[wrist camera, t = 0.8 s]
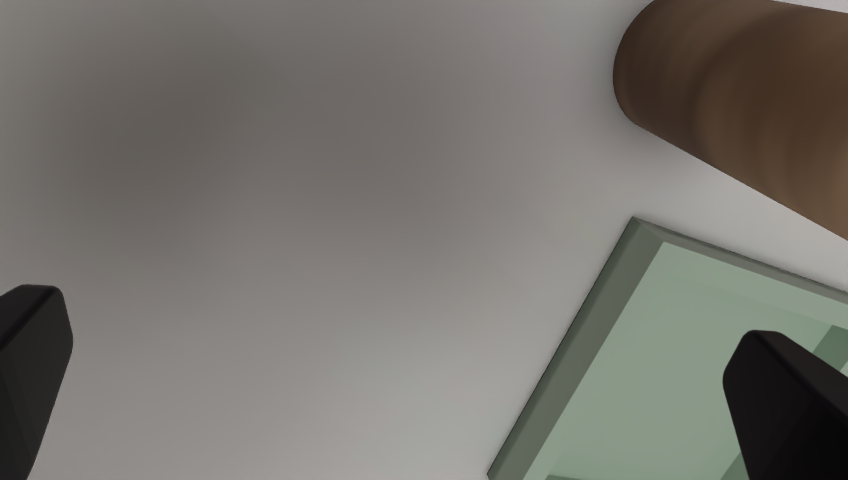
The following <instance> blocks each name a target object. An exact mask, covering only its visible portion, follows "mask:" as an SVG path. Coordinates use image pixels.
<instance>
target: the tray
mask: <svg viewBox="0 0 848 480" xmlns="http://www.w3.org/2000/svg"><path fill="white" fill-rule="evenodd" d="M750 330H767V331H777V332H780V333H782V334H784V335H786V336H787V337H789V338H790V339H792V340H793V341H795V342H796V343H798V344H799V345H801V346H802V347H804V348H805V349H807V350H808V351H810V352H811V353H813V354H814V355H816V356H817V357H819V358H820V359H822V360H823V361H825V362H826V363H828V364H829V365H831V366H832V367H834V368H835V369H837V370H838V371H840V372H841V373H843V374H844V375H846V376H847V377H848V293H847V292H844V291H841V290H838V289H835V288H832V287H830V286H827V285H824V284H821V283H818V282H815V281H813V280H810V279H807V278H804V277H801V276H798V275H796V274H793V273H790V272H787V271H784V270H781V269H779V268H776V267H773V266H770V265H767V264H765V263H762V262H759V261H756V260H753V259H750V258H748V257H745V256H742V255H739V254H736V253H733V252H731V251H728V250H725V249H722V248H719V247H716V246H714V245H711V244H708V243H705V242H702V241H699V240H697V239H694V238H691V237H688V236H685V235H682V234H680V233H677V232H674V231H671V230H668V229H665V228H663V227H660V226H657V225H654V224H651V223H649V222H646V221H643V220H640V219H637V218H634V217H632V219H631V221H630V223H629V224H628V226H627V228H626V230H625V231H624V233H623V235H622V237H621V239H620V240H619V242H618V244H617V246H616V247H615V249H614V251H613V253H612V254H611V256H610V258H609V260H608V262H607V263H606V265H605V267H604V269H603V270H602V272H601V274H600V276H599V277H598V279H597V281H596V283H595V285H594V286H593V288H592V290H591V292H590V293H589V295H588V297H587V299H586V300H585V302H584V304H583V306H582V307H581V309H580V311H579V313H578V315H577V316H576V318H575V320H574V322H573V323H572V325H571V327H570V329H569V330H568V332H567V334H566V336H565V338H564V339H563V341H562V343H561V345H560V346H559V348H558V350H557V352H556V353H555V355H554V357H553V359H552V361H551V362H550V364H549V366H548V368H547V369H546V371H545V373H544V375H543V376H542V378H541V380H540V382H539V384H538V385H537V387H536V389H535V391H534V392H533V394H532V396H531V398H530V399H529V401H528V403H527V405H526V407H525V408H524V410H523V412H522V414H521V415H520V417H519V419H518V421H517V422H516V424H515V426H514V428H513V430H512V431H511V433H510V435H509V437H508V438H507V440H506V442H505V444H504V445H503V447H502V449H501V451H500V453H499V454H498V456H497V458H496V460H495V461H494V463H493V465H492V467H491V468H490V470H489V472H488V474H487V475H488V478H489V480H749V478H748V475H747V471H746V468H745V464H744V461H743V457H742V454H741V450H740V447H739V443H738V440H737V436H736V433H735V429H734V426H733V422H732V418H731V415H730V411H729V408H728V404H727V401H726V397H725V394H724V390H723V384H722V378H723V373H724V370H725V368H726V366H727V364H728V362H729V360H730V358H731V356H732V355H733V353H734V351H735V349H736V347H737V345H738V344H739V342H740V340H741V338H742V336H743V335H744V334H745V333H746V332H748V331H750Z"/></svg>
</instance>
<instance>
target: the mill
mask: <svg viewBox="0 0 848 480" xmlns="http://www.w3.org/2000/svg"><path fill="white" fill-rule="evenodd" d="M613 84H614V90H615V95H616V98H617V101H618V103H619V105H620V107H621V109H622V111H623V112H624V113H625V115H626V116H627V117H628V118H629V119H630V120H631V121H632V122H634V123H635V124H636V125H638V126H640V127H642V128H644V129H645V130H647V131H649V132H651V133H653V134H654V135H656V136H658V137H660V138H662V139H664V140H665V141H667V142H669V143H671V144H673V145H675V146H676V147H678V148H680V149H682V150H684V151H685V152H687V153H689V154H691V155H693V156H695V157H696V158H698V159H700V160H702V161H704V162H705V163H707V164H709V165H711V166H713V167H715V168H716V169H718V170H720V171H722V172H724V173H725V174H727V175H729V176H731V177H733V178H735V179H736V180H738V181H740V182H742V183H744V184H746V185H747V186H749V187H751V188H753V189H755V190H756V191H758V192H760V193H762V194H764V195H766V196H767V197H769V198H771V199H773V200H775V201H776V202H778V203H780V204H782V205H784V206H786V207H787V208H789V209H791V210H793V211H795V212H796V213H798V214H800V215H802V216H804V217H806V218H807V219H809V220H811V221H813V222H815V223H817V224H818V225H820V226H822V227H824V228H826V229H827V230H829V231H831V232H833V233H835V234H837V235H838V236H840V237H842V238H844V239H846V240H847V241H848V13H843V12H837V11H831V10H825V9H819V8H813V7H808V6H802V5H796V4H790V3H784V2H778V1H773V0H655V1H653V2H652V3H650V4H649V5H648V6H647V7H646V8H645V9H643V10H642V11H641V12H640V13H639V15H638V16H637V17H636V18H635V19H634V20H633V22H632V23H631V25H630V26H629V27H628V29H627V31H626V33H625V34H624V36H623V38H622V40H621V43H620V45H619V48H618V51H617V54H616V58H615V63H614V71H613Z"/></svg>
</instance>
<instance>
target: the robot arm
mask: <svg viewBox="0 0 848 480" xmlns="http://www.w3.org/2000/svg"><path fill="white" fill-rule="evenodd" d="M72 348H73V334H72V330H71V326H70V321H69V317H68V313H67V309H66V305H65V301H64V297H63V294H62V292H61V291H60V289H58V288H57V287H55V286H48V285H32V284H26V285H20V286H18V287H16V288H14V289H12V290H10V291H9V292H7V293H5V294H3V295H2V296H0V480H27V478H28V476H29V473H30V471H31V469H32V467H33V464H34V462H35V459H36V456H37V454H38V451H39V448H40V445H41V442H42V439H43V436H44V433H45V431H46V428H47V425H48V422H49V419H50V416H51V413H52V410H53V407H54V404H55V401H56V398H57V395H58V392H59V389H60V386H61V383H62V380H63V377H64V374H65V371H66V368H67V365H68V362H69V359H70V356H71V353H72ZM722 384H723V390H724V394H725V397H726V401H727V404H728V408H729V411H730V415H731V418H732V422H733V426H734V429H735V433H736V436H737V440H738V443H739V447H740V450H741V454H742V457H743V461H744V464H745V468H746V471H747V475H748V478H749V480H848V377H847V376H846V375H844V374H843V373H841V372H840V371H838V370H837V369H835V368H834V367H832V366H831V365H829V364H828V363H826V362H825V361H823V360H822V359H820V358H819V357H817V356H816V355H814V354H813V353H811V352H810V351H808V350H807V349H805V348H804V347H802V346H801V345H799V344H798V343H796V342H795V341H793V340H792V339H790V338H789V337H787V336H786V335H784V334H782V333H780V332H777V331H767V330H750V331H748V332H746V333H745V334H744V335H743V336H742V338H741V340H740V342H739V344H738V345H737V347H736V349H735V351H734V353H733V355H732V356H731V358H730V360H729V362H728V364H727V366H726V368H725V370H724V373H723V378H722Z"/></svg>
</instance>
